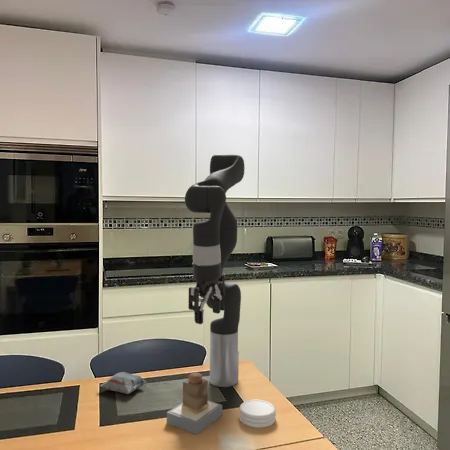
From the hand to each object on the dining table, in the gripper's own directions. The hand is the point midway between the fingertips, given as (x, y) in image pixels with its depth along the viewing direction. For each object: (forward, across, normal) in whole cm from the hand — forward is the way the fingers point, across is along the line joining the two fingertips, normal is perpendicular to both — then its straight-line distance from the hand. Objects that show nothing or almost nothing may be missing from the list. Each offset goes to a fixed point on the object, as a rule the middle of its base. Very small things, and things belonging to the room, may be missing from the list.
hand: (208, 317), depth 116 cm
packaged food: (+29, +4, -30) cm, 42 cm away
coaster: (+28, -4, +13) cm, 32 cm away
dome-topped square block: (+24, +6, -1) cm, 25 cm away
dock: (+28, +6, -1) cm, 28 cm away
